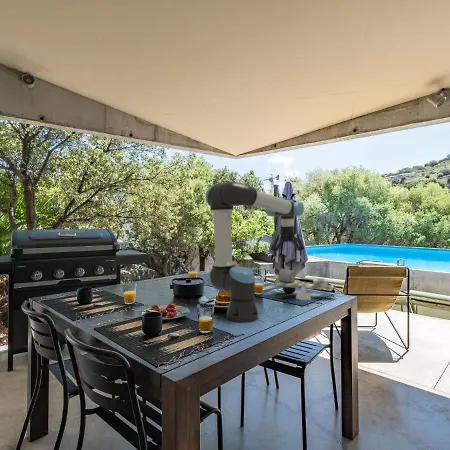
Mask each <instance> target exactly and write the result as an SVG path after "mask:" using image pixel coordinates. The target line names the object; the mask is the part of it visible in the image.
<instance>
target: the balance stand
mask: <svg viewBox="0 0 450 450" xmlns="http://www.w3.org/2000/svg"><path fill="white" fill-rule="evenodd" d="M311 296H312V293H311V292H307V288H305V286H301V288H300V292H297V293H296V296H295V300H298V299H299V300H300V301H301V300H302V301H303V300H304V301H311Z"/></svg>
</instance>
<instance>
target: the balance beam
mask: <svg viewBox="0 0 450 450" xmlns="http://www.w3.org/2000/svg"><path fill="white" fill-rule="evenodd" d="M312 279H313V280H312V283H301V280H299V279H295V280H294V282H292V283H289V282H281V281H279V278H276V280H275V281H274V283H273V286H274V287H278V288H291V289H292V288H295V289H301V286H305V288H306V289H309V290H310V289H311V290H327V291H328V290H329V291H333V290H334V285H333V284H329V281H328V278H319V277H317V278H315V277H314V278H312Z"/></svg>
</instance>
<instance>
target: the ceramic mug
mask: <svg viewBox="0 0 450 450" xmlns="http://www.w3.org/2000/svg"><path fill="white" fill-rule="evenodd" d="M277 279H279V281H281V282H289V283H292V282H294V280H296V272H295V271H294V270H291V269H285V268H280V270H279V272H278V278H277Z"/></svg>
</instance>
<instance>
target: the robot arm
mask: <svg viewBox="0 0 450 450" xmlns="http://www.w3.org/2000/svg"><path fill="white" fill-rule="evenodd" d="M205 201H206V203H207V204H208V206H209V208H210V212H211V213H213V232H214V233H213V234H214V239H213V240H214V259H215V260H214V262H213V263H212V267H211V269H210V271H209V273H208V281H209V283H210V285H211V286H212V288H214V289H216V290H218V291H223V292H226V293H229V304H228V307H227V311H226V319H227V320H228V321H232V322H237V323H249V322H250V323H251V322H254V321H257V320H258V319H259V311H258V308H257V304H256V302H255V300H256V299H255V295H256V294H255V293H256V292H255V290H256V289H255V286H256V285H255V282H256V281H255V280H256V278H255V272H254V270H253V269H252V268H249V267H247V266H246V267H245V266H236V263H235V261H234V260H233V251H232V250H233V249H232V248H233V247H232V221H231V220H232V219H231V214H232V212H233V211H234V207H235V206H237V207H239V206H240V207H241V206H243V207H252V206H254V207H257V208H261V209H263V210H265V214H266V215H267V216H268V217H280V234H275V238H274V241H273V243H272V245H271V248H270V250H271V251H272V252H273V257H274V258H275V260H274V262H275V263H277V264H278V263H279V251H278V250H279V248H281V246H282V245H283V243H292V245H294V248H296V262H299V263H300V262H301V261H300V260H301V259H300V258H301V255H302V251H303V250H304V249H305V247H304V245H303V242H302V241H301V239H300V234H298V233H295V227H294V226H295V221H294V219H295V218H294V217H299V216H300V217H301V216H302V215H303V214H304V212H305V205H304V204H303V202H301V201H294V200H293V199H285V198H281V197H278V196H275V195H271V194H268V193H266V192H262V191H259V190H257V189H256V187H254V186H250V185H247V184H244V183H241V182H238V181H237V182H236V181H229V182H219V183H214V184H212V185H210V186H209V187H208V188H207V190H206V193H205ZM280 238H281V239H280ZM294 238H295V239H296V240H295V239H294ZM279 239H280V240H279Z"/></svg>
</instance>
